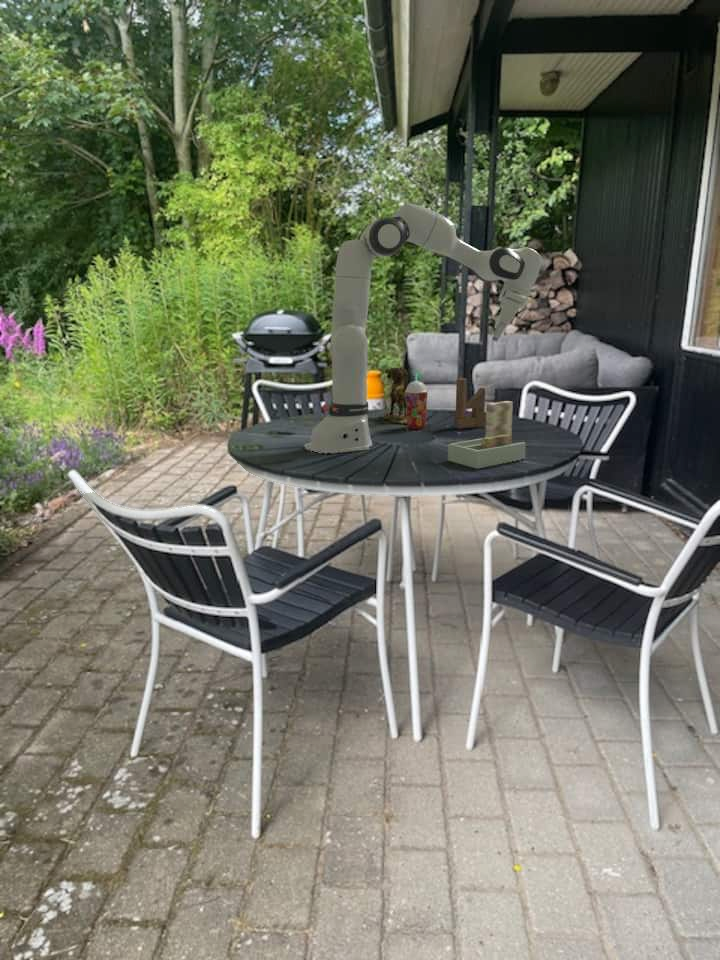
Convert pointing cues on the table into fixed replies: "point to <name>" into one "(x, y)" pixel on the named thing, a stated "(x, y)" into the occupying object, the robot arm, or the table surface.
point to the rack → (484, 453)
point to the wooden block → (469, 407)
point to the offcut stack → (496, 441)
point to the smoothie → (416, 404)
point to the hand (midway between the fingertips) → (495, 339)
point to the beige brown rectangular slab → (499, 418)
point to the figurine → (397, 395)
